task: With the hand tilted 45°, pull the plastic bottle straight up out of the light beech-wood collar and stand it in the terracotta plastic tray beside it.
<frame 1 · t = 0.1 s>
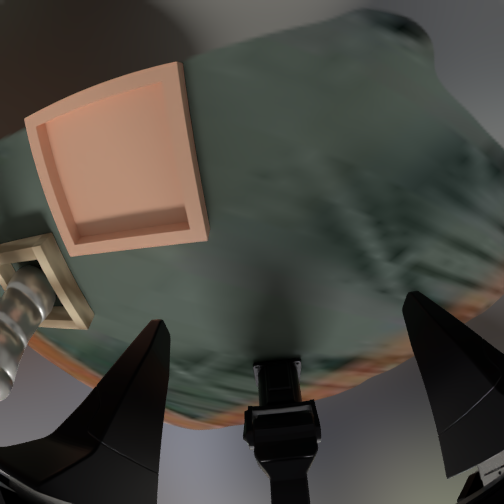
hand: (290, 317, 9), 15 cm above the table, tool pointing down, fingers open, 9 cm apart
tray: (115, 165, 20), on the table
plastic bottle: (41, 278, 27), resting in collar
collar: (40, 280, 27), on the table
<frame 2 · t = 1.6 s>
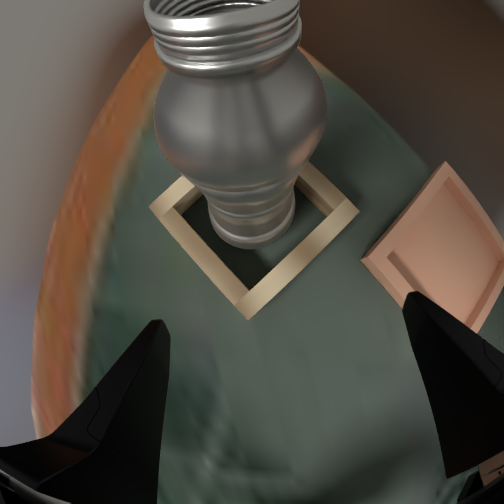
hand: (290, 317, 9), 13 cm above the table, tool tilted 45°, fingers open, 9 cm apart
tray: (447, 261, 22), on the table
plastic bottle: (253, 216, 24), resting in collar
collar: (253, 215, 24), on the table
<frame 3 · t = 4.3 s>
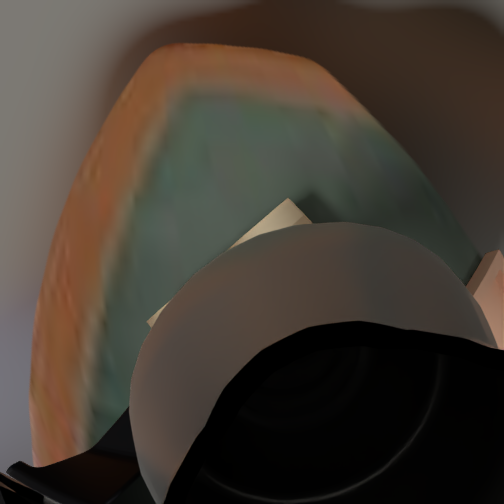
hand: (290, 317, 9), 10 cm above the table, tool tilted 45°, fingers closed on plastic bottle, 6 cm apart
tray: (481, 361, 17), on the table
plastic bottle: (279, 329, 19), resting in collar, touching gripper
collar: (279, 330, 19), on the table
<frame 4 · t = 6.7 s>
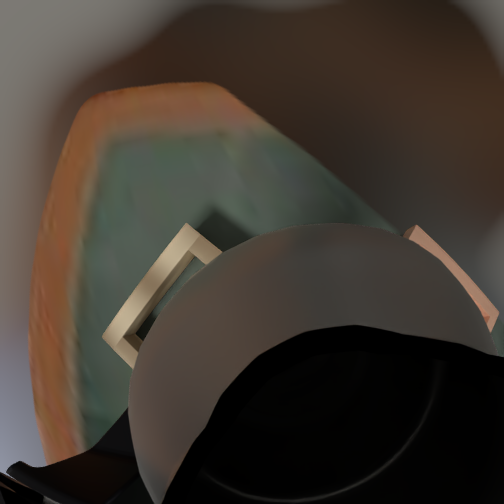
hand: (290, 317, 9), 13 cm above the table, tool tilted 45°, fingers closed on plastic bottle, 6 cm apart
tray: (420, 335, 21), on the table
plastic bottle: (279, 328, 19), point 3 cm above the table, touching gripper
collar: (203, 330, 22), on the table
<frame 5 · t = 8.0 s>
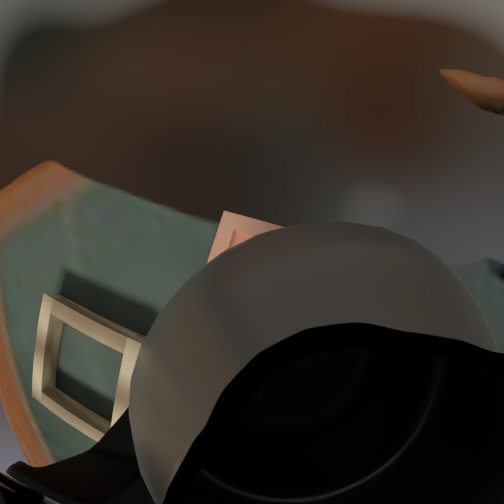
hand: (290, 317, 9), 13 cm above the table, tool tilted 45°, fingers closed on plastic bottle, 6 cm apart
tray: (284, 321, 22), on the table
plastic bottle: (279, 328, 19), point 3 cm above the table, touching gripper
collar: (90, 371, 22), on the table
when the fingers open (11 cm above the table, at t = 9.2 s): plastic bottle drops 1 cm, resting on tray.
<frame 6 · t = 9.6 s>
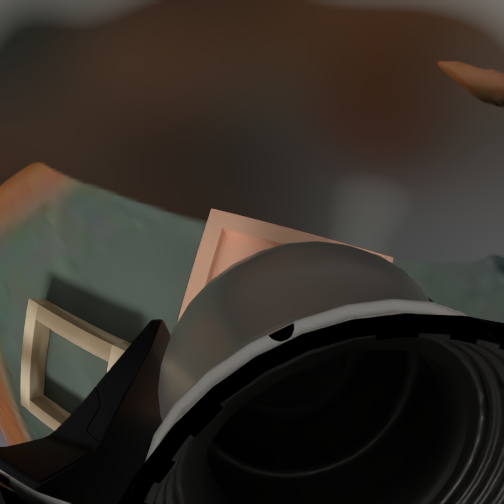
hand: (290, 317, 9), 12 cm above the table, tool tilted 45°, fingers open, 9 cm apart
tray: (278, 327, 21), on the table
plastic bottle: (278, 329, 20), resting on tray
collar: (77, 379, 20), on the table
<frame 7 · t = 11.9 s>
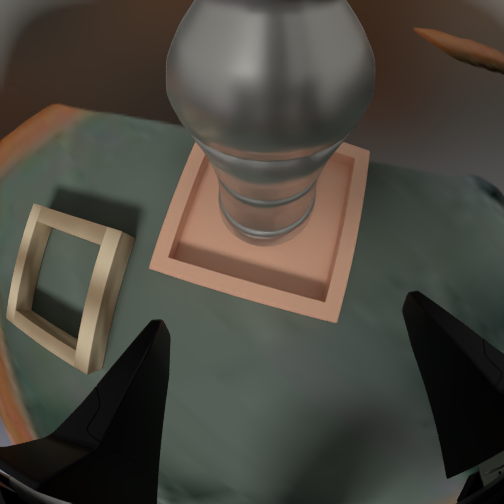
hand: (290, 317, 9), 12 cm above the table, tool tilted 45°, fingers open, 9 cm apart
tray: (266, 211, 22), on the table
plastic bottle: (266, 211, 22), resting on tray
collar: (67, 283, 22), on the table
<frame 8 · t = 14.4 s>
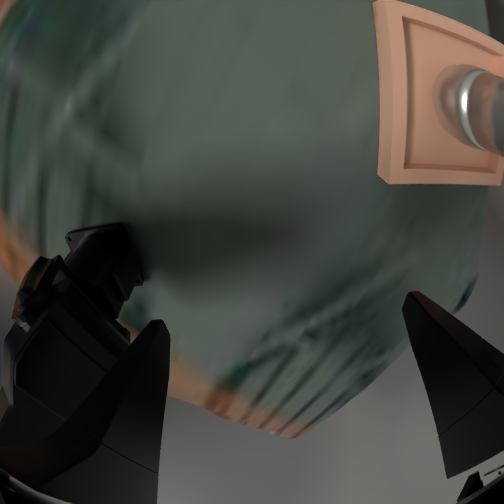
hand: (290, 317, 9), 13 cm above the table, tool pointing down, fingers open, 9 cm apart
tray: (449, 99, 16), on the table
plastic bottle: (451, 100, 15), resting on tray
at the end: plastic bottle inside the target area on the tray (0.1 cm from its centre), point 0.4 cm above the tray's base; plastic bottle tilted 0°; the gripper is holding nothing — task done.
